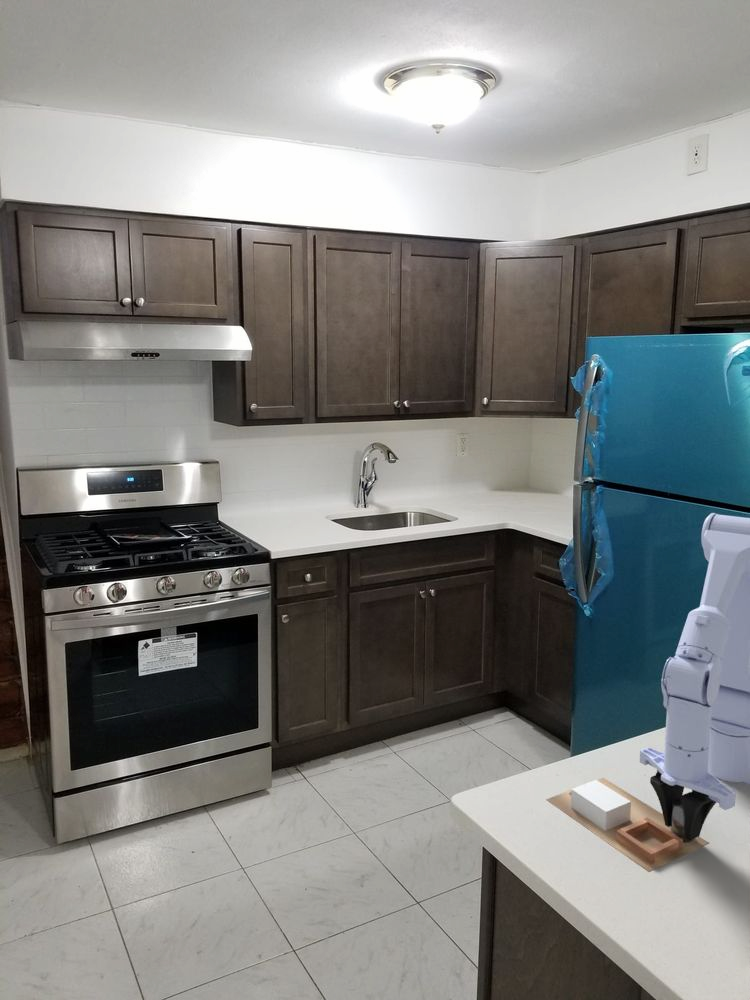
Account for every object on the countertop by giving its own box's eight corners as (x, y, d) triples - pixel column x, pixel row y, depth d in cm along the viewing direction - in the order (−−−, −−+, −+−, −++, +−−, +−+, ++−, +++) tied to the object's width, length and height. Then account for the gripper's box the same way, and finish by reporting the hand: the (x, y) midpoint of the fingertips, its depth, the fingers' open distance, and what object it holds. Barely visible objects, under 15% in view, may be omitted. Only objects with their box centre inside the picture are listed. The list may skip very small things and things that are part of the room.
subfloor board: (602, 783, 128) (603, 769, 128) (708, 849, 111) (709, 832, 111) (545, 805, 122) (546, 790, 122) (648, 878, 105) (649, 861, 105)
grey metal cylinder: (680, 827, 115) (682, 795, 114) (697, 838, 112) (699, 805, 111) (665, 833, 113) (667, 802, 112) (683, 845, 111) (685, 812, 110)
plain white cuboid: (595, 797, 123) (595, 779, 122) (630, 820, 117) (631, 801, 116) (570, 807, 120) (571, 789, 120) (605, 830, 114) (606, 811, 114)
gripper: (626, 727, 114) (622, 813, 117) (713, 772, 102) (706, 867, 104) (660, 715, 117) (656, 799, 120) (748, 758, 105) (741, 850, 108)
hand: (682, 830), depth 112 cm, fingers closed on grey metal cylinder, 3 cm apart
